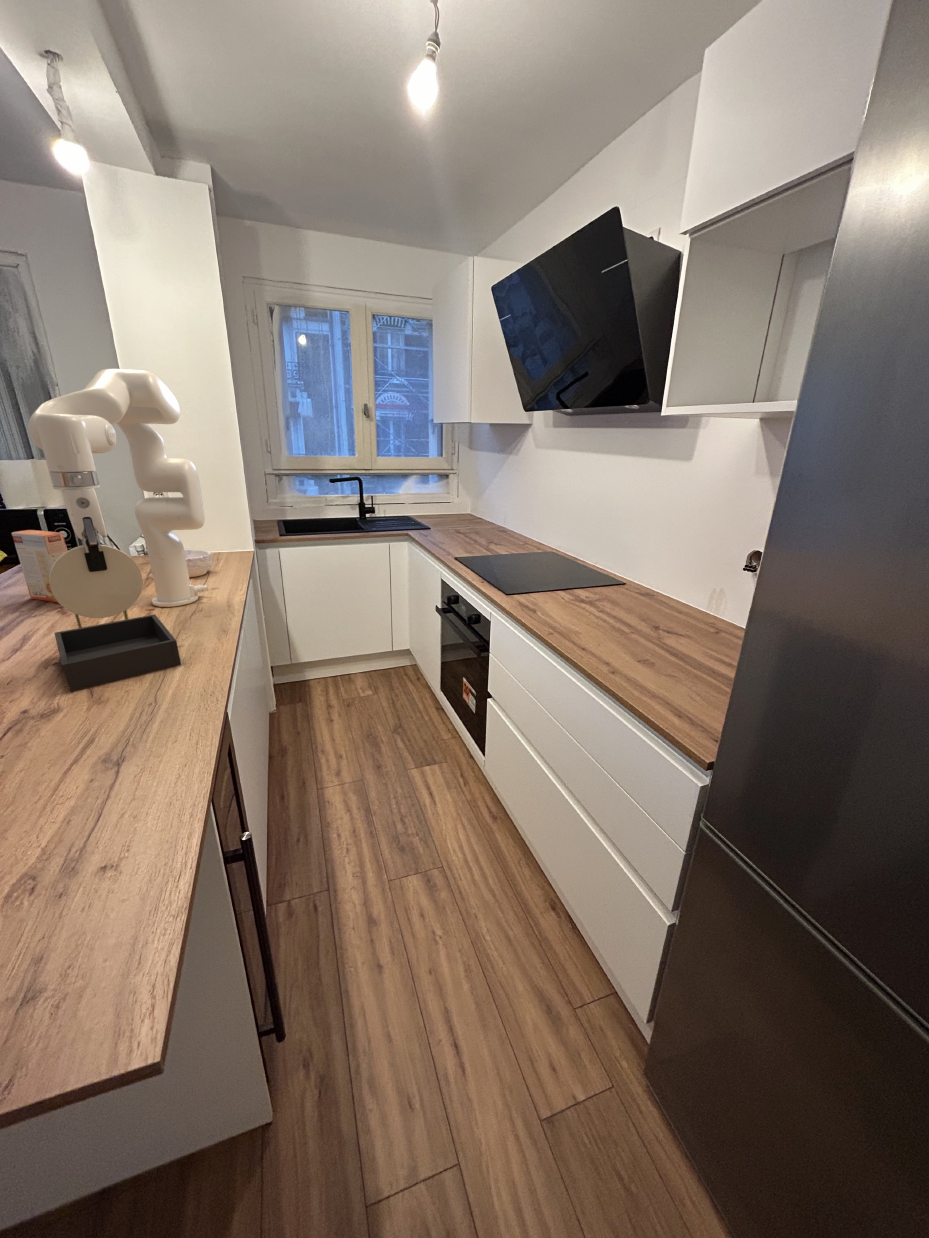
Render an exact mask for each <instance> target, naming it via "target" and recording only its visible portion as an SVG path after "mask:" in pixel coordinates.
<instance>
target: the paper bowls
mask: <svg viewBox="0 0 929 1238" xmlns="http://www.w3.org/2000/svg"><path fill="white" fill-rule="evenodd" d="M184 553H185V558H186V563H187V569H188V574H189V578H196V577H197V578H198V577H201V576H204V575H205V574H207V572H208V570H209V568H210V567H212V566H213V565H214V563H213V556H212V552H211V551H209V550H206V549H184Z"/></svg>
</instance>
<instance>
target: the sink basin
mask: <svg viewBox="0 0 929 1238" xmlns="http://www.w3.org/2000/svg"><path fill="white" fill-rule="evenodd" d="M54 637H55V641H56V645H57V650H58V654H59V658H60V663H61V666H62V670H63V673H64V676H65V680H66V683H67V687H68V690H69V692H70V693H71V692H76V691H79V690H80V691H81V690H83V689H88V688H93V687H96V686H99V685H100V686H101V685H105V684H108V683H112V682H116V681H120V680H124V679H128V678H132V677H137V676H140V675H145V674H149V673H152V672H156V671H162V670H165V669H169V668H174V667H178V666H181V665H182V661H181V657H180V651H179V647H178V643H177V639H176V638H175V637H174V636H173V635H172V633H171V632H170V630H169V629H168V628H167V627H166V625H164V622H162V621H161V619H159V617H158V616H157V615H156V614H155V613H153V614H149V615H144V616H139V617H138V616H137V617H131V618H129V619H126V620H125V619H122V620H121V619H120V620H116V621H111V622H105V623H100V624H94V625H89V626H84V627H82V628H73V629H67V630H61V631H55V632H54Z"/></svg>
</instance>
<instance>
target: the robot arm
mask: <svg viewBox="0 0 929 1238" xmlns="http://www.w3.org/2000/svg"><path fill="white" fill-rule="evenodd" d="M180 416H181V409H180V405H179V401H178V400H177V398H176V396H175V395H174V393H173V392H172V391H171V390H170V388H169V387H168V386H167V385H166V383H164V382H163V381H162V379H161V378H159V377H158V376H157V375H156V374H154V373H152V372H151V371H148V370H145V369H127V368H104V369H101V370H99V371H98V372H96V374H95V375H94V376H93V377H92V378H91V379H90V381H89V382H88V383H87V385H86V386H84V388H83V389H81V390H77V391H73V392H70V393H68V394H64V395H60V396H57V397H54V398H51V399H49V400H46V401H45V402H43V403H41V404H40V405H39V406H38V407H37V408H36V409H35V410H34V411H33V413H32V414H31V416H30V417H29V421H28V429H27V430H28V434H29V437H30V439H31V441H32V443H33V444H34V445H35V446H36V447H37V448H38V449H40V450H42V451H43V455H44V458H45V462H46V466H47V469H48V473H49V478H50V481H51V485H52V488H53V490H58V491H59V490H61V493H62V497H63V501H64V504H65V508H66V512H67V515H68V518H69V521H70V523H71V526H72V529H73V531H74V533H75V535H76V537H77V538H78V539H80V540H81V544H82V545H84V548H85V552H86V553H84V554H85V558H86V562H87V566H88V570H89V571H90V572H96V571H104V570H107V565H106V561H105V557H104V553H103V551H102V549H101V545H102V544H101V541H100V537H99V536H102V537H103V538H107V537H108V532H107V529H106V525H105V521H104V518H103V513H102V509H101V506H100V502H99V499H98V496H97V493H96V490H95V489H100V488H101V486H100V481H99V477H98V472H97V469H96V464H95V460H94V456H93V455H94V454H106V453H109V452H111V451H112V450H113V449H115V447H116V445H117V442H118V441H117V440H118V437H117V432H116V430H115V428H114V425H116V424H117V426H118V427H119V428H120V430H121V431H122V432H123V434H124V436H125V438H126V440H127V442H128V447H129V452H130V456H131V462H132V468H133V473H134V474H133V475H134V477H135V481H136V484H137V486H138V488H139V489H140V490H142V491H143V492H148V493H179V494H181V496H171V497H170V496H152V497H145V498H142V499H141V498H140V500H138V501H137V502H136V504H135V506H134V514H135V517H136V520H137V524H138V525H139V528H140V530H141V533H142V536H143V540H144V543H145V549H146V552H147V557H148V561H149V566H150V571H151V576H152V580H153V585H154V586H153V587H154V590H155V595H156V596H155V597H153V598H152V599H151V604H152V605H153V606H155V607H162V608H171V607H180V606H184V605H185V606H186V605H188V604H191V603H195V602H196V601H198V600H199V594H198V593H201V592H209V587H208V584H203V585H202V584H196V585H193V584H192V583H191V580H190V577H189V574H188V569H187V563H186V558H185V553H184V550H185V547H184V544H183V542H182V541H181V539H180V537H178V535H176V533H174V532H173V531H192V530H199V529H202V527H204V524H205V510H204V509H205V508H204V505H203V496H202V490H201V483H200V478H199V474H198V469H197V468H196V465H195V464H194V463H193V462H192V461H191V460H190V459H187V458H181V457H180V458H179V457H168V456H167V452H166V446H165V441H164V439H163V437H162V436H161V435H160V433H159V432H158V431H157V430H156V429H155V428H154V427H153V426H152V425H173V424H176V423H177V422H178V421H179V419H180ZM82 545H81V546H82Z"/></svg>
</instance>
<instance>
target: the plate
mask: <svg viewBox="0 0 929 1238" xmlns="http://www.w3.org/2000/svg"><path fill="white" fill-rule="evenodd" d="M101 549H102V551H103V553H104V557H105V561H106V565H107V570H104V571H96V572H90V571H89V570H88V566H87V562H86V558H85V554H84V553H86V552H85V548H84V545H79V546H75V547H73V548H71V549H67V552H65V553H64V554H62V555H61V556H60V557H59V558H58V559H57V560H56V561H55V563H54V564H53V566H52V568H51V571H50V575H49V584H50V588H51V591H52V594H53V596H54V597H55V599H56V600H57V601H58V602H59V603H58V604H59V605H60V606H61V607H63V608H64V609H66V610H67V611H69V612H70V613H72V614H74V615H75V614H77V615H79V617H84V618H90V619H104V618H110V617H114V616H117V615H120V614H121V613H123V612H124V611H125V610H127V611H128V609H130V608H131V607H132V606H134V604H135V603H136V602H137V601H138V599H139V598H140V595H141V593H142V590H143V584H144V583H143V575H142V572H141V570H140V568H139V566H138V564H137V563H136V562H135V560H134V559H133V558H131V556H130V555H128V554H127V553H125V552H124V551H123V550H120V549H118V548H117V547H114V546H110V545H106V544H101Z"/></svg>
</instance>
